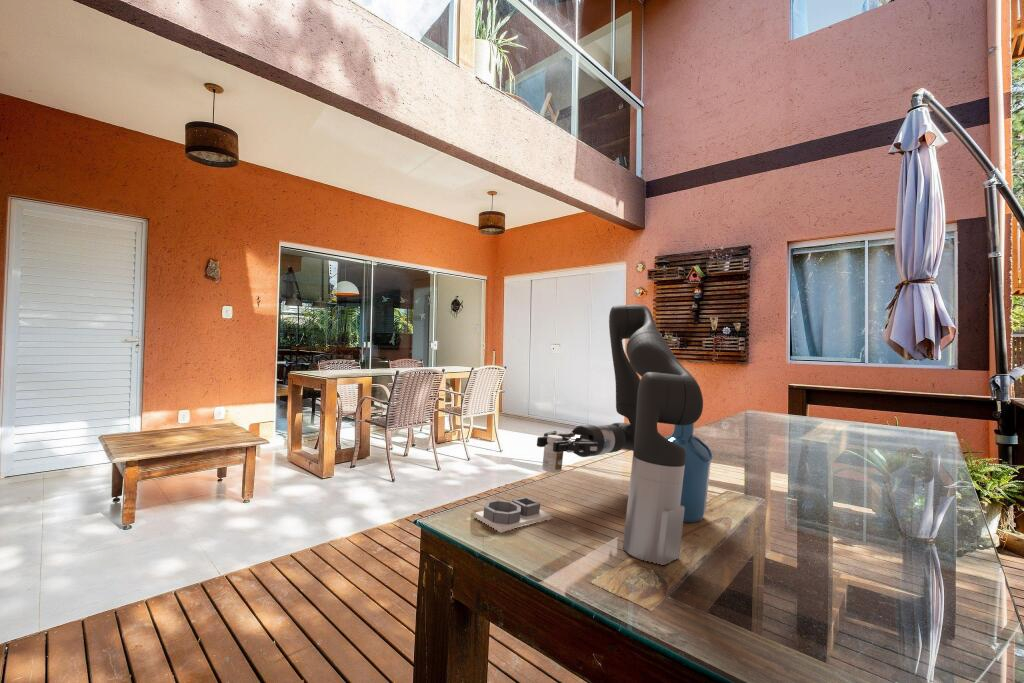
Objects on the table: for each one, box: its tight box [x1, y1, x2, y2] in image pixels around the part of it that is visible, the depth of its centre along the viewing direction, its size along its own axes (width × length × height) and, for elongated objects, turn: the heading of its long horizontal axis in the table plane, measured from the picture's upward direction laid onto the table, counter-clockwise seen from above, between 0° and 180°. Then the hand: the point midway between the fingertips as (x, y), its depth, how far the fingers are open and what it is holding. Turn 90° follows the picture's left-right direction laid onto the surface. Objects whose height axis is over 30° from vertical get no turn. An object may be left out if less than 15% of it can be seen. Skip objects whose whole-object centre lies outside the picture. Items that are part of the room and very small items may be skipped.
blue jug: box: [663, 423, 713, 523], centre depth 107 cm, size 14×13×30 cm
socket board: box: [474, 496, 552, 534], centre depth 92 cm, size 8×14×3 cm, turn 133°
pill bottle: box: [541, 435, 564, 474], centre depth 102 cm, size 4×4×8 cm
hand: (546, 444), depth 100 cm, fingers closed on pill bottle, 4 cm apart
